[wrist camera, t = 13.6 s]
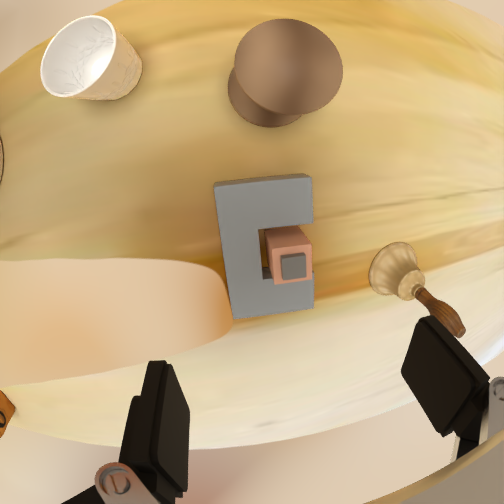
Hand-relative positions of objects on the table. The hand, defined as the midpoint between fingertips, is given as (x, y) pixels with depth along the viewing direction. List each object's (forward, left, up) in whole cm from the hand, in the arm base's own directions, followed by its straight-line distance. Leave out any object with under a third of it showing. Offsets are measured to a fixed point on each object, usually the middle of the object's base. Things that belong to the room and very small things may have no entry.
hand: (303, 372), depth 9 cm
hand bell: (+19, -11, -25) cm, 33 cm away
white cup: (-14, +18, -25) cm, 34 cm away
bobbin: (+3, +13, -24) cm, 28 cm away
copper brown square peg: (+3, -5, -25) cm, 25 cm away
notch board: (+1, -5, -24) cm, 25 cm away
